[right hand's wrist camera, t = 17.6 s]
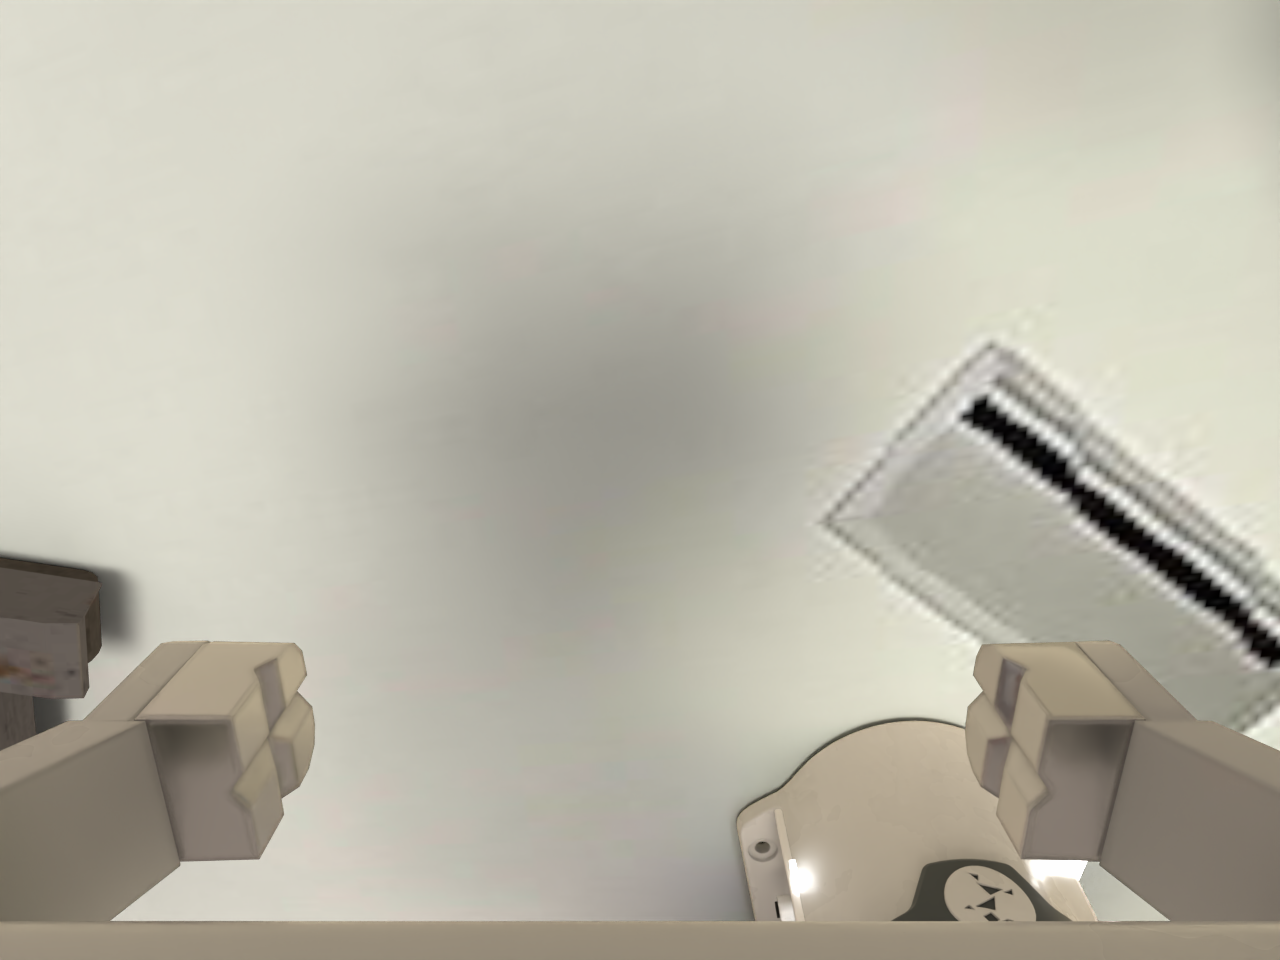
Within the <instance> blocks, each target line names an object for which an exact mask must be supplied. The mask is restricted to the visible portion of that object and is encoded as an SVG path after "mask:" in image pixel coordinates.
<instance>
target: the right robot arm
mask: <svg viewBox="0 0 1280 960" xmlns="http://www.w3.org/2000/svg"><path fill="white" fill-rule="evenodd" d="M306 676H307V672H306V667H305V662H304V657H303V652H302V650H301V649H300V648H299V647H298V646H297V645H296V644H295V643H274V642H223V641H214V642H210V641H172V642H166V643H161V644H160V645H159V646H158V647H157V648H156V649H155V650H154V651H153V652H152V653H151V654H150V655H149V656H148V657H147V658H146V659H145V660H144V661H143V662H142V663H141V664H140V665H139V666H138V667H137V668H136V669H135V670H134V671H133V672H132V673H131V674H130V675H129V676H127V677H126V678H125V679H124V680H123V681H122V682H121V683H120V684H119V685H118V686H117V687H116V688H115V689H114V690H113V691H112V692H111V693H110V694H109V695H108V696H107V697H106V698H105V699H104V700H103V701H102V702H101V703H100V704H99V705H98V706H97V707H96V708H95V709H94V710H93V711H92V712H91V713H90V714H89V715H88V716H87V717H86V718H85V719H84V720H83V721H67V722H64V723H62V724H60V725H58V726H55V727H53V728H51V729H49V730H46V731H44V732H42V733H40V734H37V735H35V736H33V737H31V738H28V739H26V740H24V741H21V742H19V743H17V744H15V745H12V746H10V747H8V748H6V749H3V750H1V751H0V960H1280V751H1279V750H1276V749H1274V748H1272V747H1270V746H1267V745H1265V744H1263V743H1261V742H1258V741H1256V740H1254V739H1252V738H1249V737H1247V736H1245V735H1243V734H1240V733H1238V732H1236V731H1234V730H1231V729H1229V728H1227V727H1225V726H1222V725H1220V724H1218V723H1216V722H1213V721H1197V720H1196V719H1195V718H1194V717H1193V716H1192V715H1191V714H1190V713H1189V712H1188V711H1187V710H1186V709H1185V708H1184V707H1183V706H1182V705H1181V704H1180V703H1179V702H1178V701H1177V700H1176V699H1175V698H1174V697H1173V696H1172V695H1171V694H1170V693H1169V692H1168V691H1167V690H1166V689H1165V688H1164V687H1163V686H1162V685H1161V684H1160V683H1159V682H1158V681H1157V680H1156V679H1155V678H1154V677H1153V676H1152V675H1151V674H1150V673H1149V672H1148V671H1147V670H1146V669H1145V668H1144V667H1143V666H1142V665H1140V664H1139V663H1138V662H1137V661H1136V660H1135V659H1134V658H1133V657H1132V656H1131V655H1130V654H1129V653H1128V652H1127V651H1126V650H1125V649H1124V648H1123V647H1122V646H1121V645H1120V644H1117V643H1115V642H1112V641H1109V640H1105V641H1079V642H1046V643H1006V644H983V645H981V648H980V650H979V652H978V654H977V656H976V661H975V666H974V672H973V676H974V677H975V679H976V680H977V682H978V684H979V685H980V687H981V688H982V690H983V692H982V693H981V694H980V695H979V696H978V697H977V698H976V699H975V700H974V701H973V702H972V703H971V704H970V705H969V706H968V709H967V717H966V725H965V729H963V728H960V727H956V726H953V725H949V724H944V723H938V722H930V721H900V722H891V723H885V724H880V725H876V726H872V727H868V728H865V729H862V730H859V731H857V732H854V733H852V734H849V735H847V736H845V737H843V738H841V739H839V740H837V741H835V742H833V743H832V744H830V745H828V746H827V747H825V748H824V749H822V750H821V751H820V752H818V753H817V754H816V755H814V756H813V757H812V758H811V759H810V760H809V761H808V762H807V763H806V764H805V765H803V766H802V768H801V769H800V770H799V771H798V772H797V773H796V774H795V775H794V776H793V778H792V779H791V780H790V781H789V782H788V783H787V784H786V785H785V786H784V787H782V788H781V789H780V790H779V791H777V792H775V793H773V794H771V795H769V796H767V797H765V798H763V799H761V800H759V801H757V802H755V803H753V804H752V805H750V806H749V807H747V808H746V809H744V810H743V811H742V812H741V813H740V815H739V816H738V818H737V831H738V836H739V841H740V847H741V852H742V857H743V862H744V867H745V872H746V877H747V882H748V888H749V893H750V898H751V903H752V908H753V913H754V918H755V921H110V920H112V919H113V918H114V917H115V916H117V915H118V914H119V913H120V912H122V911H123V910H124V909H126V908H127V907H128V906H129V905H131V904H132V903H133V902H135V901H136V900H137V899H138V898H140V897H141V896H142V895H143V894H145V893H146V892H147V891H149V890H150V889H151V888H152V887H154V886H155V885H156V884H158V883H159V882H160V881H161V880H163V879H164V878H165V877H166V876H168V875H169V874H170V873H172V872H173V871H174V870H175V869H177V868H178V867H179V866H180V861H215V860H250V859H260V857H261V855H262V853H263V852H264V850H265V848H266V846H267V845H268V843H269V841H270V839H271V837H272V836H273V834H274V832H275V830H276V828H277V827H278V825H279V823H280V821H281V819H282V818H283V816H284V811H283V805H282V800H281V798H283V797H285V796H286V795H288V794H289V793H291V792H292V791H294V790H295V789H297V788H298V787H300V785H301V783H302V781H303V779H304V777H305V775H306V773H307V771H308V769H309V766H310V762H311V757H312V753H313V749H314V745H315V722H314V715H313V708H312V706H311V705H310V704H309V703H308V702H307V701H306V700H305V699H304V698H303V697H302V696H301V695H300V694H299V693H298V692H297V690H298V688H299V687H300V685H301V684H302V682H303V680H304V679H305V677H306ZM759 842H765V843H763V844H758V843H759ZM1087 861H1100V864H1099V865H1100V866H1101V867H1102V868H1104V869H1105V870H1106V871H1108V872H1109V873H1110V874H1111V875H1113V876H1114V877H1115V878H1116V879H1118V880H1119V881H1120V882H1122V883H1123V884H1124V885H1125V886H1127V887H1128V888H1129V889H1130V890H1132V891H1133V892H1134V893H1136V894H1137V895H1138V896H1139V897H1141V898H1142V899H1143V900H1144V901H1146V902H1147V903H1148V904H1150V905H1151V906H1152V907H1153V908H1155V909H1156V910H1157V911H1159V912H1160V913H1161V914H1162V915H1164V916H1165V917H1166V918H1167V919H1169V920H1170V921H1098V919H1097V917H1096V915H1095V913H1094V911H1093V909H1092V907H1091V905H1090V903H1089V901H1088V899H1087V897H1086V895H1085V893H1084V891H1083V888H1082V886H1081V884H1080V882H1079V879H1080V876H1081V874H1082V872H1083V870H1084V868H1085V865H1086V863H1087Z"/></svg>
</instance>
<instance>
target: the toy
mask: <svg viewBox="0 0 1280 960" xmlns="http://www.w3.org/2000/svg"><path fill="white" fill-rule="evenodd" d="M101 586H102V583H101V582H98V577H97V576H96V575H95V574H94V573H92V572H89V571H85V570H79V569H72V568H66V567H59V566H52V565H45V564H39V563H32V562H25V561H18V560H11V559H5V558H0V751H1V750H3V749H6V748H8V747H10V746H12V745H15V744H17V743H19V742H21V741H24V740H26V739H28V738H31V737H33V736H35V735H36V729H35V718H34V707H33V696H34V697H42V698H49V699H61V698H84V697H85V695H86V693H87V691H88V689H89V676H88V663H89V662H90V661H92V660H93V658H94V657H95V656H96V655H97V654H98V653H99V651H100V648H101V646H102V642H101V624H100V606H99V590H100V588H101Z"/></svg>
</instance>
